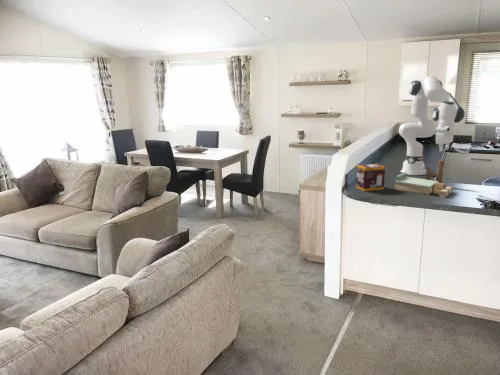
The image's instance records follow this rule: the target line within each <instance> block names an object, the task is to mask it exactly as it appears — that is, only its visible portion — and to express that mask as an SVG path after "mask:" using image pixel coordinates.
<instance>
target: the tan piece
mask: <svg viewBox="0 0 500 375" xmlns="http://www.w3.org/2000/svg"><path fill="white" fill-rule="evenodd" d="M433 189H434V186H432V187H430V188H428V187H422V186H415V185H409V184H403V183H396V182H394V190H395V191H396V190H397V191H403V192H407V193H415V194H420V195H427V196H429V195H431V194H434V193H433ZM452 192H453V186H449V185H447V186H446V187H444V189H443V190H441V191H440V194H438V195H439V196H438V197H439V198H442V199H443V198H446V197H447V196H449V195H450V194H451V193H452Z"/></svg>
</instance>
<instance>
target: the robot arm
mask: <svg viewBox="0 0 500 375" xmlns="http://www.w3.org/2000/svg"><path fill="white" fill-rule="evenodd" d="M408 91H409V92H408V93H409V95H411V96H413V97H412V100H411V106H410V107H411V108H410V109H411V110H410V115H411V117H413V118H415V119H417V122H406V123H402V124H401V125H400V126H399V128H398V133H399V136H401V137H402V138H403V139H404V141H405V143H406V155H405V160H404V161H403V162H402V169H401V170H400V173H407V174H406V175H409V176H426V169H425V164H426V163H424V161H423V158H424V154H423V152H424V145H423V144H422V143H421V142H419V141H417V140H416V139H417V138H429V137H430V138H431V137H432V136H433V135H434V134H435V133H436V134H435V144H436V145H438V148H439V150H438V152H443V151H444V150H445V151H449V147H450V144H451V143H453V141H454V130H455V123H456V124H458V123H460V122H461V121H462V120H464V118H465V115H466V114H465V109H464V108H463V107H462V106H461V105H460V104H459V103H458V102H457V100H456V99H455V97H454V96H453V95H452V93H451V92H449V91H447V90H446V89H445V88H443V82H442V81H441V80H439V79H438V78H437V77H436V75H435V76H434V75H428V76H426V77H425V78H424V79H422V80H412V81H411V82H409V87H408ZM429 101H431V102H434V103H435V102H436V103H440V105H439V106H437V107H435V108H434V109H433V110H432V112H431V119H432V121H434V122H436V123H437V125H438V126H437V127H436V126H435V125H434V124H433V123H432V122H431V121H430V120H429V117H428V107H429V106H428V105H429ZM444 145H445V146H444Z"/></svg>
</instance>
